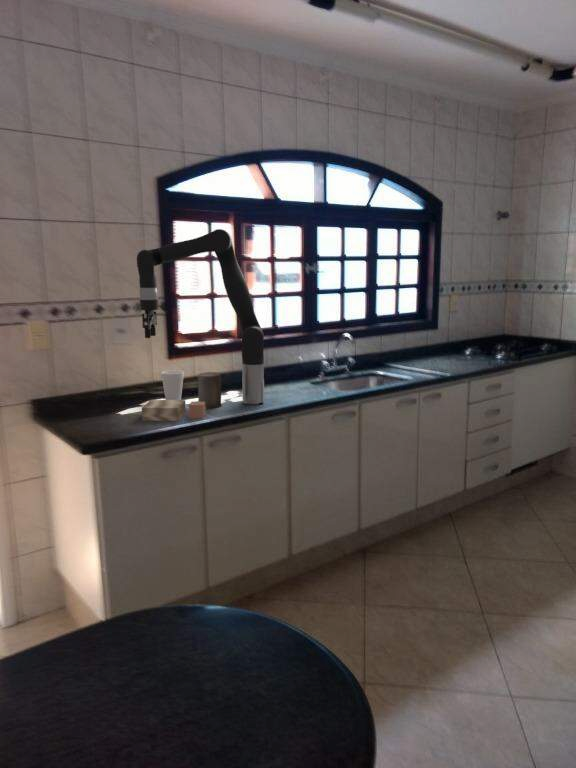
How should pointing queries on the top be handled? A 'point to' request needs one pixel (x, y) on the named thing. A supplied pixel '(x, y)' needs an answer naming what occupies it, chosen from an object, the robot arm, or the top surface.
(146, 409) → the birch plinth
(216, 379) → the pillar candle
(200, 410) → the terracotta cube
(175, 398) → the foam cup
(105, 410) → the top surface
